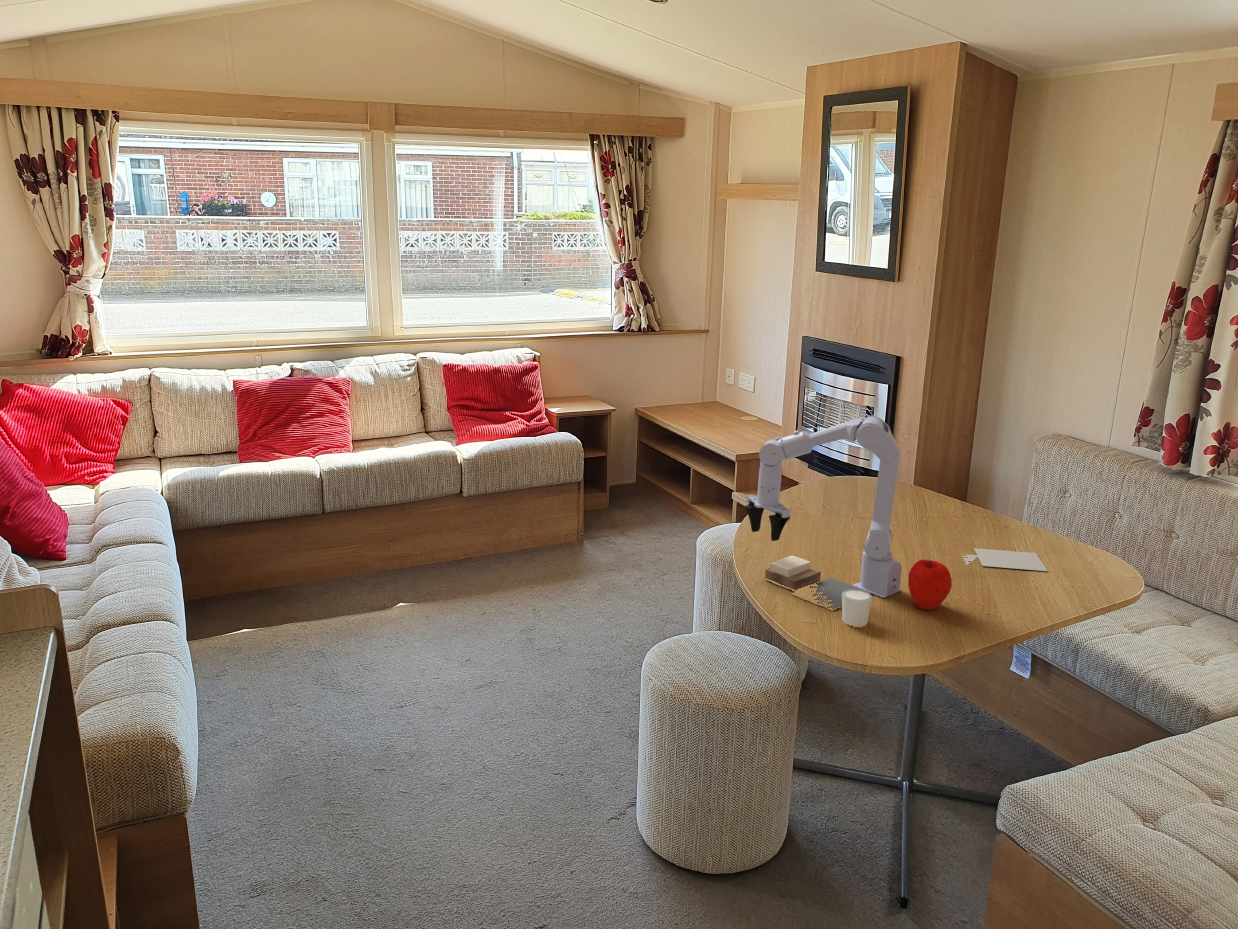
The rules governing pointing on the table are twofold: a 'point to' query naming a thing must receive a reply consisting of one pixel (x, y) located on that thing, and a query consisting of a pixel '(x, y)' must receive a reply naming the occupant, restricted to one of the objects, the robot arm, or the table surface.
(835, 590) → the mat
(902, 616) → the table surface
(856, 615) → the white cylinder
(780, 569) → the cream rectangular block
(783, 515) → the robot arm
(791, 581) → the riser
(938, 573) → the apple
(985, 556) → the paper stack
